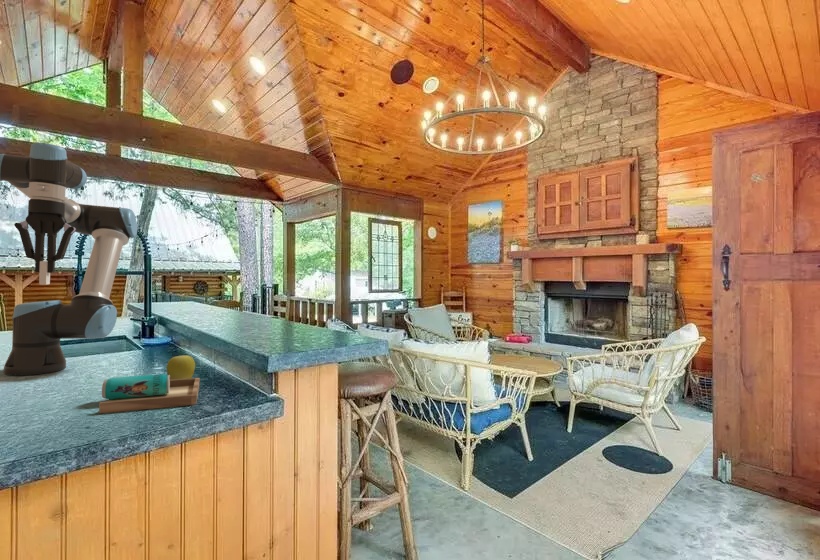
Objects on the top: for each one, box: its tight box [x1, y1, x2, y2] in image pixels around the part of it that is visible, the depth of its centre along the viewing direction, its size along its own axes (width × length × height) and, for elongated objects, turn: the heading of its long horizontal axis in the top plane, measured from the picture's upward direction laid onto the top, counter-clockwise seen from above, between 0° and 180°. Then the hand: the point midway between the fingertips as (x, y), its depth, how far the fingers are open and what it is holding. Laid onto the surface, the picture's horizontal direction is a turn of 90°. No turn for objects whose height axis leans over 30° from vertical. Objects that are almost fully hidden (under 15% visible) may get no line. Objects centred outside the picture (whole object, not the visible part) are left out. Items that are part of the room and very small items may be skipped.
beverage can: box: [101, 373, 170, 400], centre depth 108 cm, size 6×6×15 cm
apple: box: [166, 351, 196, 380], centre depth 127 cm, size 8×8×10 cm
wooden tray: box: [98, 377, 201, 414], centre depth 110 cm, size 18×21×2 cm
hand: (44, 284), depth 110 cm, fingers closed
